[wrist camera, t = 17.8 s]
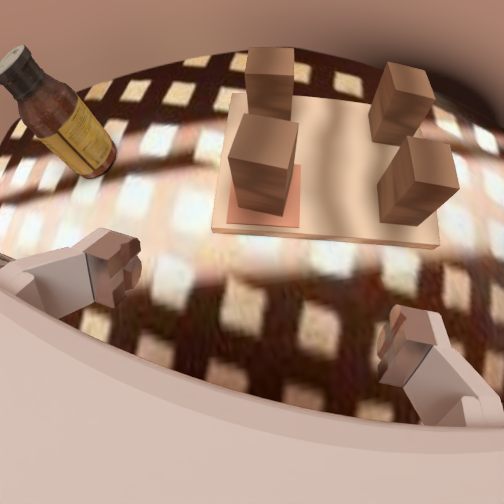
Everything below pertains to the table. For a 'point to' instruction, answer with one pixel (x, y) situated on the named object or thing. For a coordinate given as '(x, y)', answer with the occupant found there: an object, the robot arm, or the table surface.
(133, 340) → the table surface
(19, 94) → the sauce bottle
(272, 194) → the walnut peg
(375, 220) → the board
